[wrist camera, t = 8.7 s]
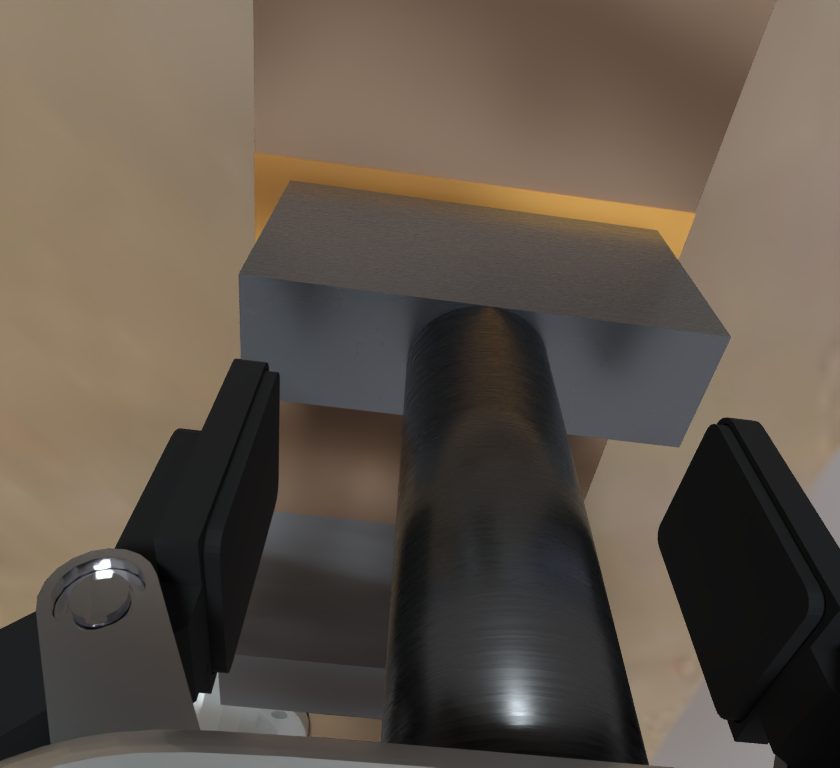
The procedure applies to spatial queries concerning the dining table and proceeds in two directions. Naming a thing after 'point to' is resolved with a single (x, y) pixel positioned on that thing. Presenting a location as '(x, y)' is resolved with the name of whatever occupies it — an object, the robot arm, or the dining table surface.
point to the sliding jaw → (487, 436)
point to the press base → (460, 183)
